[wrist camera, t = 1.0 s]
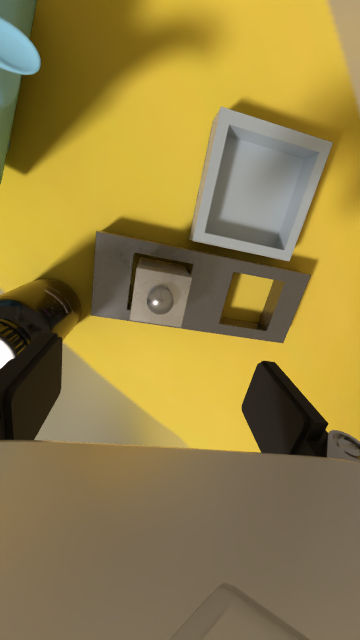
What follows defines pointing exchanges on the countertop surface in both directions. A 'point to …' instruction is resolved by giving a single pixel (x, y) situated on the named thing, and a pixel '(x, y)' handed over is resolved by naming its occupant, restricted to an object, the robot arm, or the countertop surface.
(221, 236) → the parts tray
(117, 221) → the countertop surface
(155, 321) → the beige block with knob
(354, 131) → the countertop surface
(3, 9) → the teakettle
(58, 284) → the supplement bottle
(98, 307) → the rail
